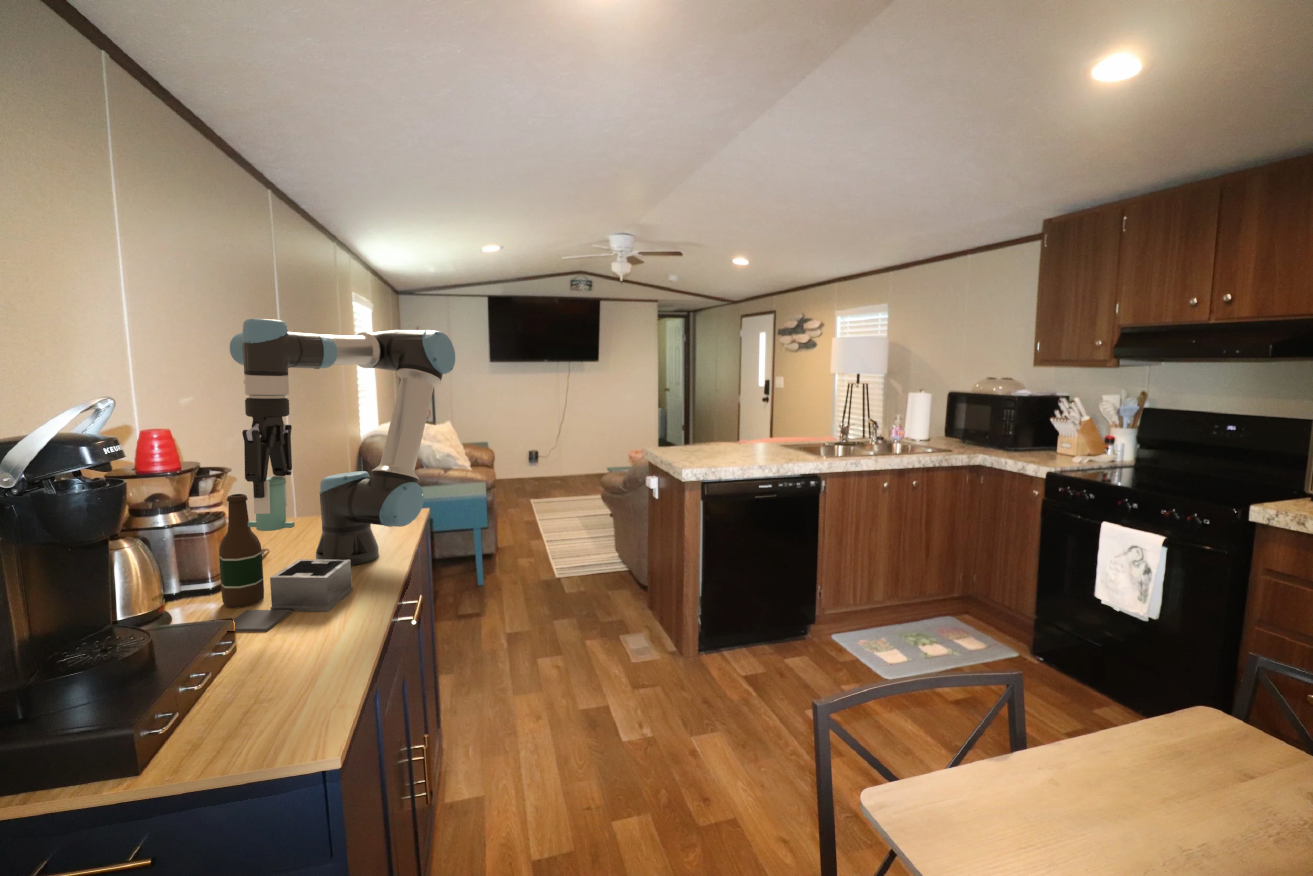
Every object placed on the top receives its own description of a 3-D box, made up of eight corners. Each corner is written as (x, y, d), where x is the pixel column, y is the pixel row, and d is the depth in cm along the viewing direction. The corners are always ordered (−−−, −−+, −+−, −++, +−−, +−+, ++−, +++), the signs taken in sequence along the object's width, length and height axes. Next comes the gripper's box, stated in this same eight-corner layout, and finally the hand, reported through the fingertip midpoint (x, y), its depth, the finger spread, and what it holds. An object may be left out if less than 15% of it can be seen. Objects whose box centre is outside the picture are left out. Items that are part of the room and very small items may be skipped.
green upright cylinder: (299, 524, 129) (298, 477, 128) (285, 531, 123) (284, 482, 122) (257, 523, 128) (256, 476, 127) (241, 530, 123) (239, 481, 122)
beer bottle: (273, 598, 137) (266, 493, 134) (239, 611, 130) (232, 500, 126) (247, 592, 139) (241, 489, 136) (213, 605, 132) (205, 497, 129)
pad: (247, 612, 129) (246, 609, 129) (291, 612, 129) (291, 609, 129) (219, 631, 120) (219, 628, 120) (266, 631, 121) (266, 628, 120)
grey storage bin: (299, 590, 142) (298, 559, 141) (353, 590, 142) (351, 559, 141) (270, 611, 130) (268, 577, 129) (328, 611, 130) (327, 578, 129)
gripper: (273, 394, 132) (276, 500, 134) (218, 398, 114) (223, 520, 116) (309, 395, 132) (311, 500, 135) (260, 399, 114) (264, 520, 117)
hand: (270, 509), depth 125 cm, fingers closed on green upright cylinder, 5 cm apart
